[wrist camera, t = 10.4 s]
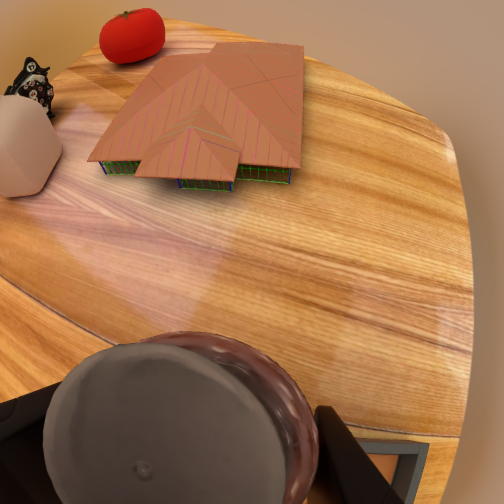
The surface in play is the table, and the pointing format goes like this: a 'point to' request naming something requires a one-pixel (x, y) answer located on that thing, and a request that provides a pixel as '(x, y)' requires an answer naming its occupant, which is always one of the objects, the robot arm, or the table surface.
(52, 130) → the beige ceramic bottle
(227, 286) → the table surface
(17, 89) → the figurine
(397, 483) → the tray
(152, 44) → the tomato
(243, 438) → the supplement bottle
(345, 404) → the table surface
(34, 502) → the robot arm
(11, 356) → the table surface
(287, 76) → the house
